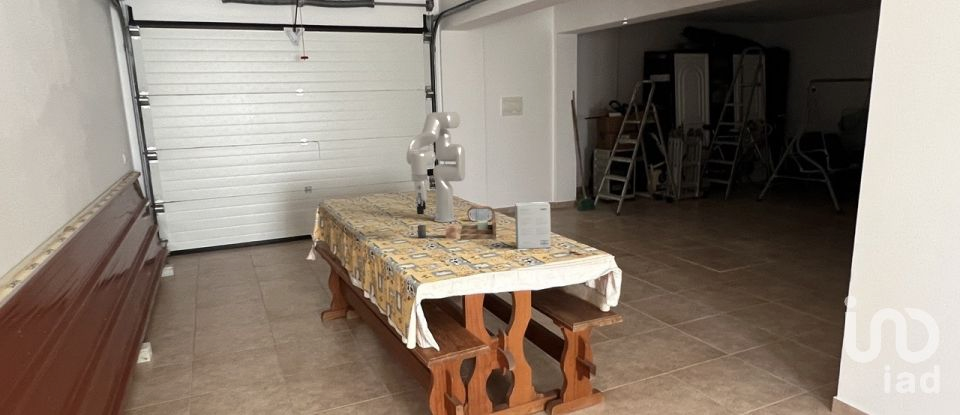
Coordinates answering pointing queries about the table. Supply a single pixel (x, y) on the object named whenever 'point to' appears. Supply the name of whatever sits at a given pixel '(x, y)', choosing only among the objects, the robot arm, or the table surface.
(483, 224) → the sage block
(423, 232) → the pull block
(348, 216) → the table surface
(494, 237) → the lane rack
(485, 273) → the table surface
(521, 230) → the hard drive box
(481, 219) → the tin
